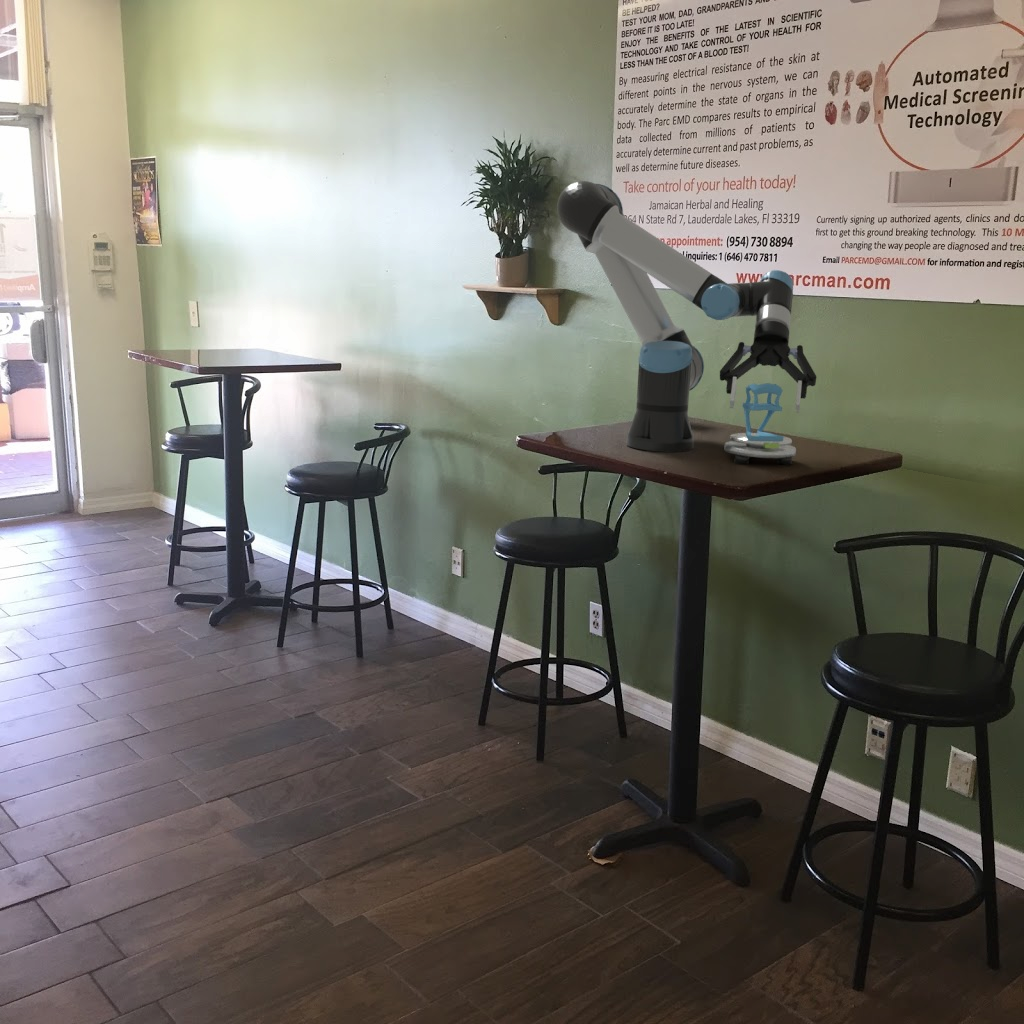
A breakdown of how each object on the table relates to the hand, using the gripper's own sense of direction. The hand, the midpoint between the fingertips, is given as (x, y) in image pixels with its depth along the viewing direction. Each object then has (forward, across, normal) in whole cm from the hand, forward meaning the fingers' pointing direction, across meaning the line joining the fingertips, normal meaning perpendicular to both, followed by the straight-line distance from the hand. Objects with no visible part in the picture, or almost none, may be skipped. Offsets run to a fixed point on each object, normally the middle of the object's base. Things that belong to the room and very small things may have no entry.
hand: (764, 406), depth 225 cm
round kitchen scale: (+7, 0, -10) cm, 12 cm away
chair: (+4, 0, -6) cm, 7 cm away
